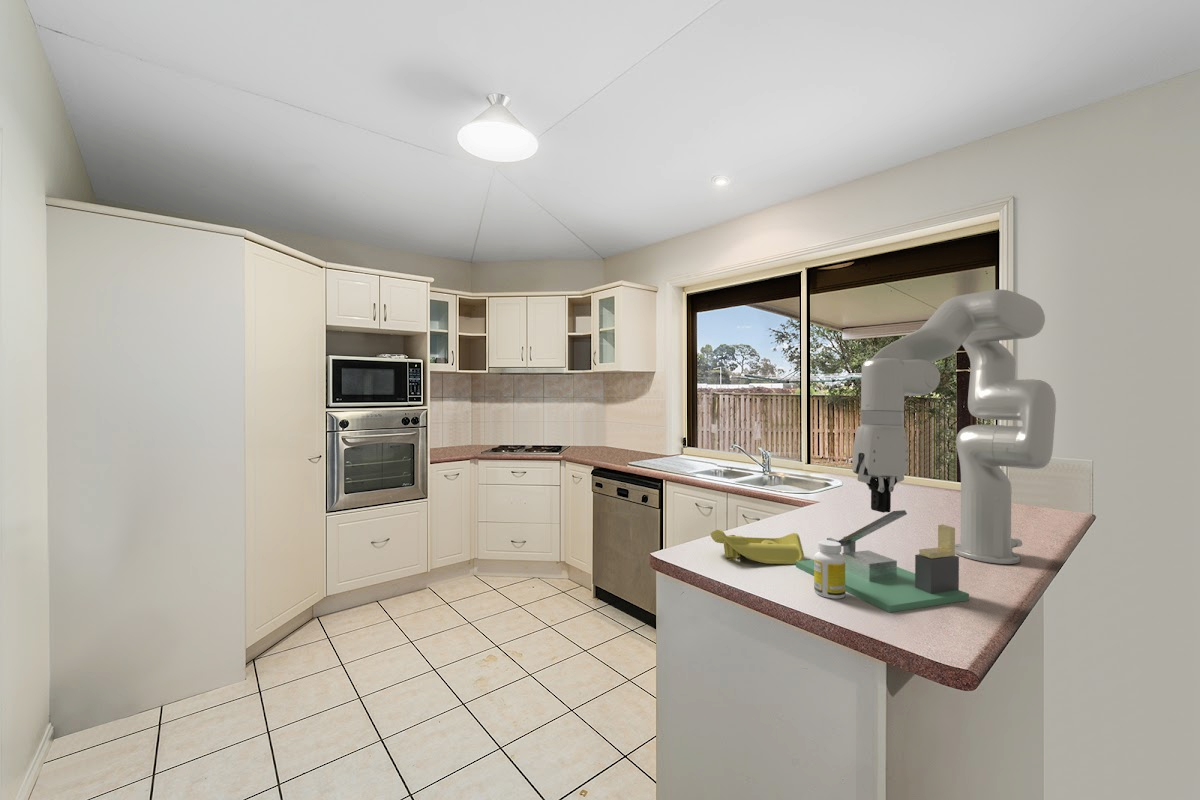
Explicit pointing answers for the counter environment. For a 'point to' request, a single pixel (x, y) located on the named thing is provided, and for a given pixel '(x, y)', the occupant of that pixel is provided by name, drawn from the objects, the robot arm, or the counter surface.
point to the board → (890, 589)
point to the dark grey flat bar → (872, 527)
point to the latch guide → (936, 574)
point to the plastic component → (762, 548)
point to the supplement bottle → (829, 570)
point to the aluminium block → (870, 565)
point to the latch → (942, 544)
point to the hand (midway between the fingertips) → (880, 510)
